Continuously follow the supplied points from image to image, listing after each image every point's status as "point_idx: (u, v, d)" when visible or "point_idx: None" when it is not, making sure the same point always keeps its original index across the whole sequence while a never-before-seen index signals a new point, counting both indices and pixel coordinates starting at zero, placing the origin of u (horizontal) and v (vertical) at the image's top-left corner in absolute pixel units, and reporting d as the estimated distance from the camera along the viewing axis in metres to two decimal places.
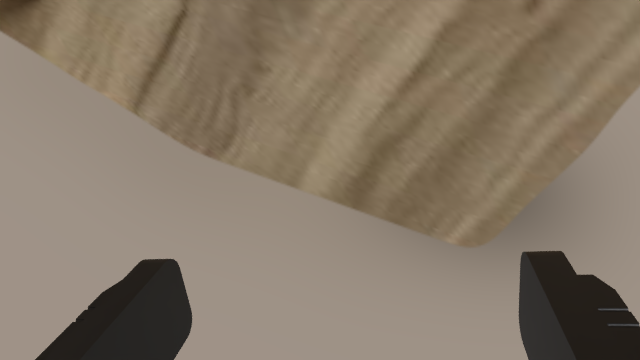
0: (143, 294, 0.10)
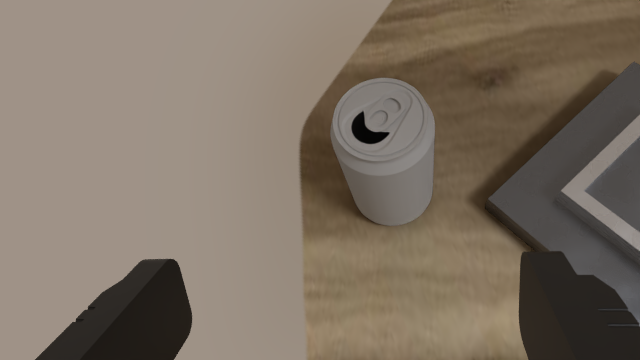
0: (143, 294, 0.10)
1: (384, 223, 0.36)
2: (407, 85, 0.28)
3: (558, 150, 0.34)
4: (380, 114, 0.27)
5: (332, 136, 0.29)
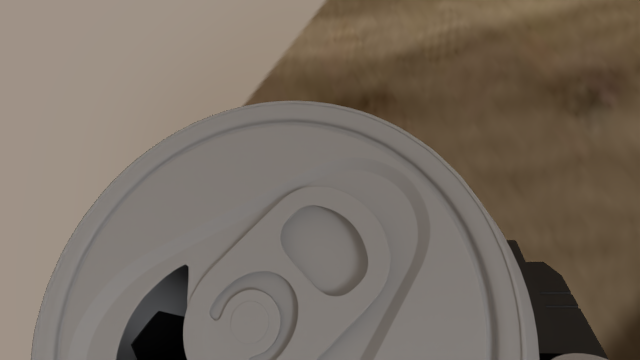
0: None
1: None
2: (403, 140, 0.06)
3: None
4: (262, 294, 0.05)
5: None
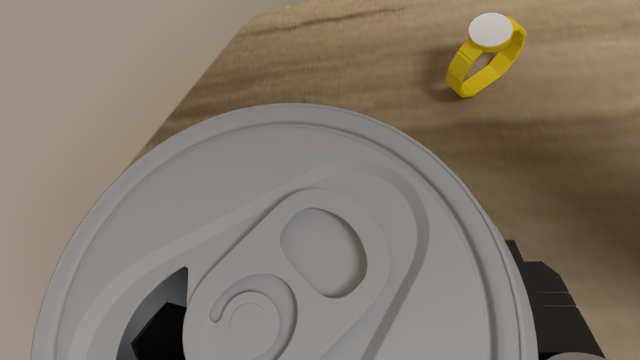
0: None
1: None
2: (402, 142, 0.06)
3: None
4: (262, 296, 0.05)
5: None
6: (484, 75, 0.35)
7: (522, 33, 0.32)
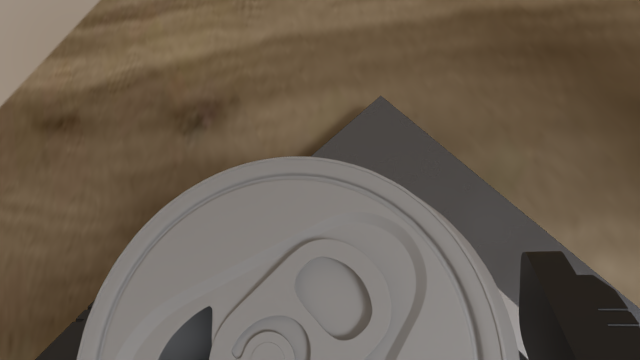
0: None
1: None
2: (403, 198, 0.06)
3: None
4: (278, 335, 0.06)
5: None
6: None
7: None
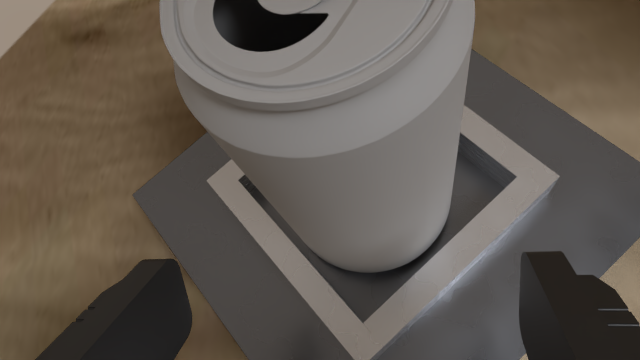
0: (143, 294, 0.10)
1: (349, 268, 0.17)
2: None
3: None
4: None
5: None
6: None
7: None
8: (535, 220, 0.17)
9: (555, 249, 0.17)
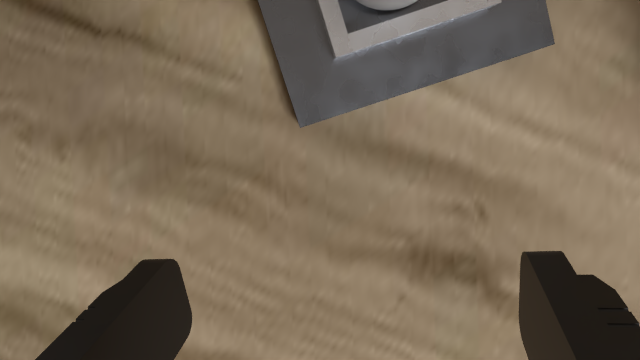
0: (143, 294, 0.10)
1: None
2: None
3: None
4: None
5: None
6: None
7: None
8: (471, 20, 0.27)
9: (470, 42, 0.27)
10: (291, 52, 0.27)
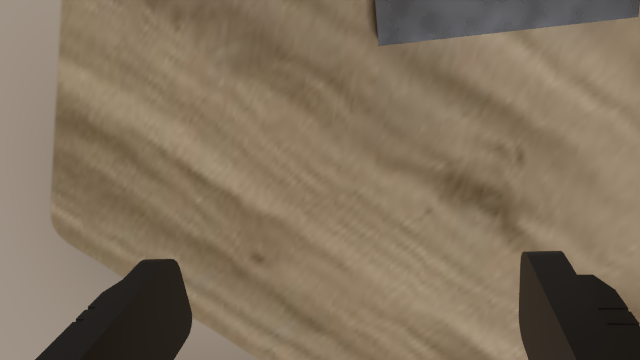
0: (143, 294, 0.10)
1: None
2: None
3: None
4: None
5: None
6: None
7: None
8: None
9: None
10: None
